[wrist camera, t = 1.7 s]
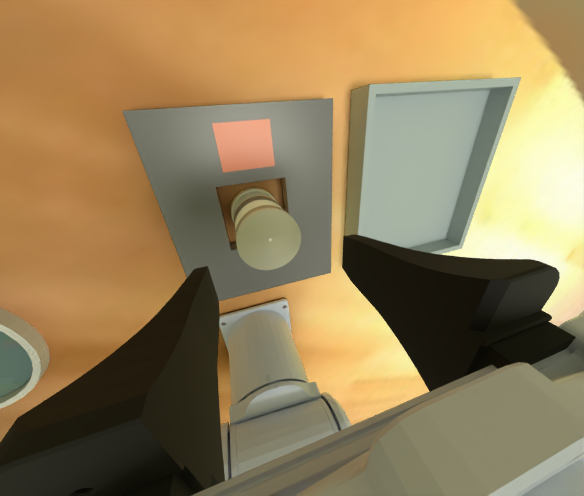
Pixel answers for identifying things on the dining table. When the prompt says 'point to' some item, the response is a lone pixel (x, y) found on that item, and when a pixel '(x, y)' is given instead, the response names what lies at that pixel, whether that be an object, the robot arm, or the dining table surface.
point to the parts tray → (422, 158)
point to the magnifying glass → (19, 357)
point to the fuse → (263, 230)
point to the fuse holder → (240, 181)
